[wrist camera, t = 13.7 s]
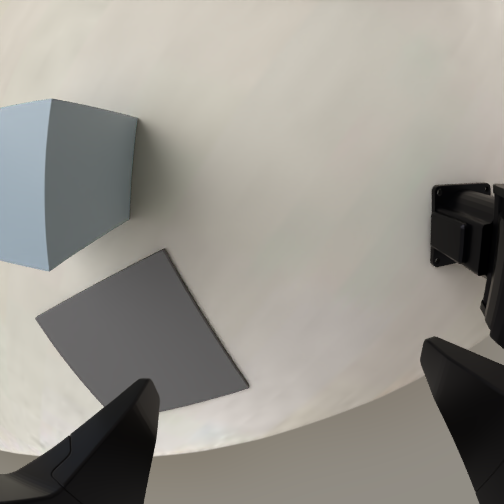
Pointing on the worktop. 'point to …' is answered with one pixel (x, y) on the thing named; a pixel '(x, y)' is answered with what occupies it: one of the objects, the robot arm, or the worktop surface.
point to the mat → (142, 337)
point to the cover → (61, 179)
